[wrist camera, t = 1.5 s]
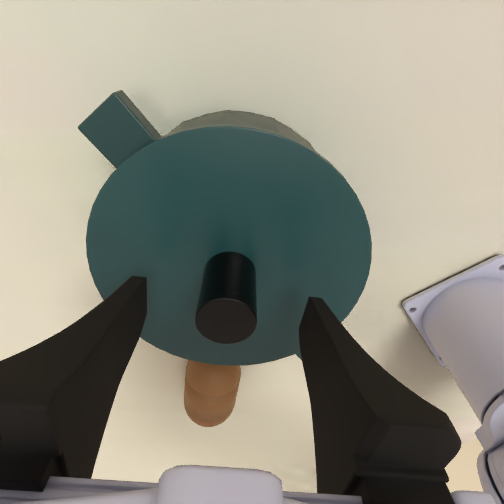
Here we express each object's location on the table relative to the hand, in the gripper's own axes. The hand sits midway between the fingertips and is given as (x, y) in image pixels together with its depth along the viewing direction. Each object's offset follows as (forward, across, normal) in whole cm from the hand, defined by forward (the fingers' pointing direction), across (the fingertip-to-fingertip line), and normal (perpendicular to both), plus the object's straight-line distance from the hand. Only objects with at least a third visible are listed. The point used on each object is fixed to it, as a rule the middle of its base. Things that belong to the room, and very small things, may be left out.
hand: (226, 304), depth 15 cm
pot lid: (+3, 0, 0) cm, 3 cm away
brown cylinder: (+9, 0, +16) cm, 18 cm away
